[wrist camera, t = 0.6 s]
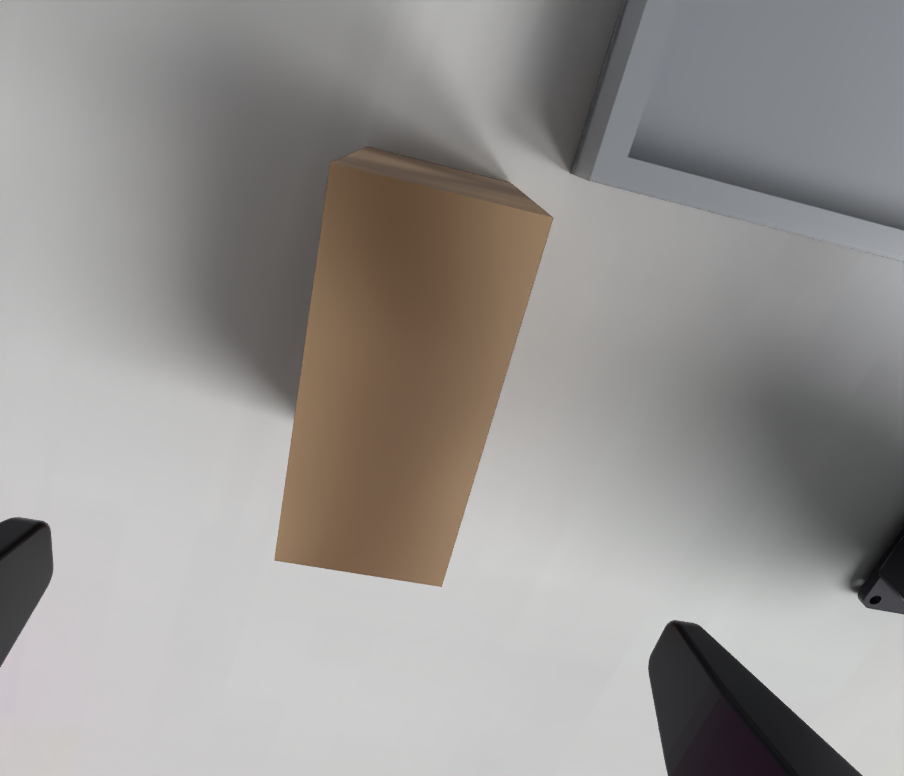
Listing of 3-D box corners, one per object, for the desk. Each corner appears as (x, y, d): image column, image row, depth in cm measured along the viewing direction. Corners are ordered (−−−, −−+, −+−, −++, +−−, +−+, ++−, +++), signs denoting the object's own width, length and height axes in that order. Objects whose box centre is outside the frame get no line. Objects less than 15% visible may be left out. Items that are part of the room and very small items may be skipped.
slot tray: (1146, -23, 16) (1258, -46, 14) (963, 274, 19) (1030, 294, 17) (679, -187, 14) (724, -242, 12) (570, 173, 18) (589, 180, 16)
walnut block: (510, 182, 18) (553, 217, 12) (438, 452, 22) (441, 586, 16) (367, 146, 17) (330, 162, 11) (321, 429, 21) (274, 560, 15)
